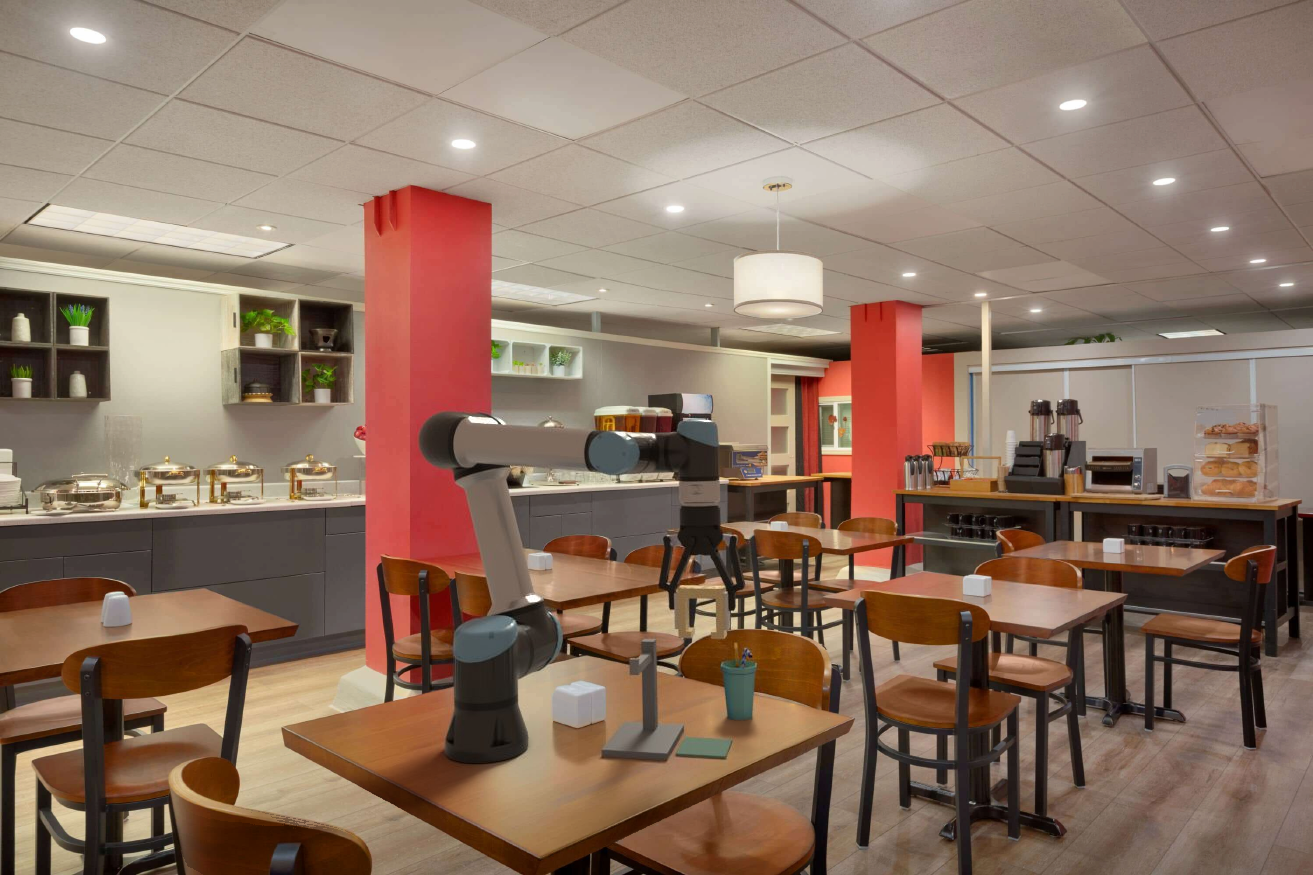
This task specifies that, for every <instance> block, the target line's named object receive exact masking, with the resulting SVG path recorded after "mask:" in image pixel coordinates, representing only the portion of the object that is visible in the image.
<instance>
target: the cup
mask: <svg viewBox="0 0 1313 875" xmlns="http://www.w3.org/2000/svg"><path fill="white" fill-rule="evenodd" d="M738 650H739V648H738V642H734V658H735V659H729V660H725V661H722V662H721V664H720V671H721V672H722V678H723V679H722V680H723V686H724V698H725V705H726V714H727V716H726V717H727V718H729V719H731V720H734V721H746V720H750V719H753V711H754V696H755V695H754V692H755V678H756V677H755V676H756V671H757V664H758V663H757V662H755V661H751V660H748V659H747V657H748V658H749V659H752V658H753V654H752V653H751V651H750V650H749V648H747V647H744V648H743V650H742V653H741V654H742V655H741V659H739V652H738Z"/></svg>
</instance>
